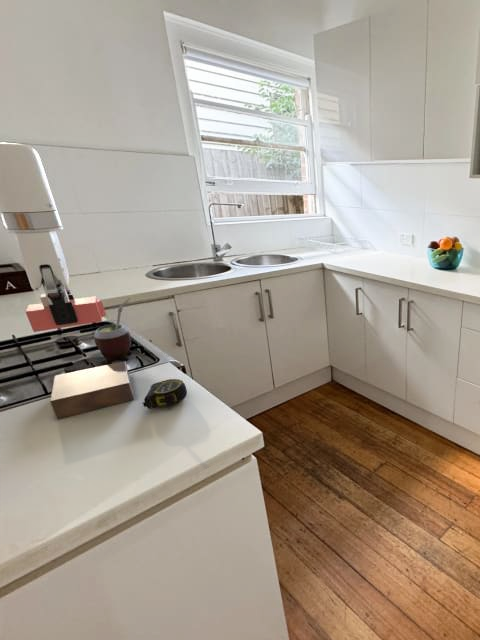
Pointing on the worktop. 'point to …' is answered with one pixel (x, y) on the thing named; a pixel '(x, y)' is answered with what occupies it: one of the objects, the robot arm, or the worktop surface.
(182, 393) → the tape measure
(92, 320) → the pink rectangular bar
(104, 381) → the wood block
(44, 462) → the worktop surface
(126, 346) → the mate gourd
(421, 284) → the worktop surface
